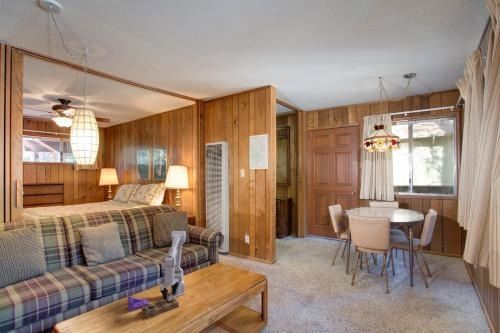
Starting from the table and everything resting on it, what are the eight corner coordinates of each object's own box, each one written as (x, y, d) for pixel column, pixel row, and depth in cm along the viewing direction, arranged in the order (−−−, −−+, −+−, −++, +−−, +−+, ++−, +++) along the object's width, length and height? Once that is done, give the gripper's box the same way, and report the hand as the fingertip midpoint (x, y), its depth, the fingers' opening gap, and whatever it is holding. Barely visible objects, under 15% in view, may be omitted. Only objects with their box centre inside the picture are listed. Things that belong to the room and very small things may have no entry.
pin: (170, 304, 171) (170, 292, 171) (172, 306, 169) (172, 293, 169) (166, 305, 169) (166, 293, 169) (168, 307, 167) (168, 295, 167)
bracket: (129, 312, 162) (130, 301, 162) (127, 307, 167) (127, 297, 167) (149, 306, 169) (149, 295, 169) (146, 302, 174) (146, 291, 174)
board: (171, 301, 175) (171, 296, 175) (178, 307, 168) (178, 302, 168) (141, 311, 162) (141, 306, 162) (147, 318, 155) (147, 313, 155)
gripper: (173, 271, 177) (173, 291, 177) (156, 278, 165) (156, 300, 164) (181, 273, 174) (180, 293, 174) (164, 281, 161) (164, 303, 161)
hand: (169, 297), depth 169 cm, fingers open, 7 cm apart
